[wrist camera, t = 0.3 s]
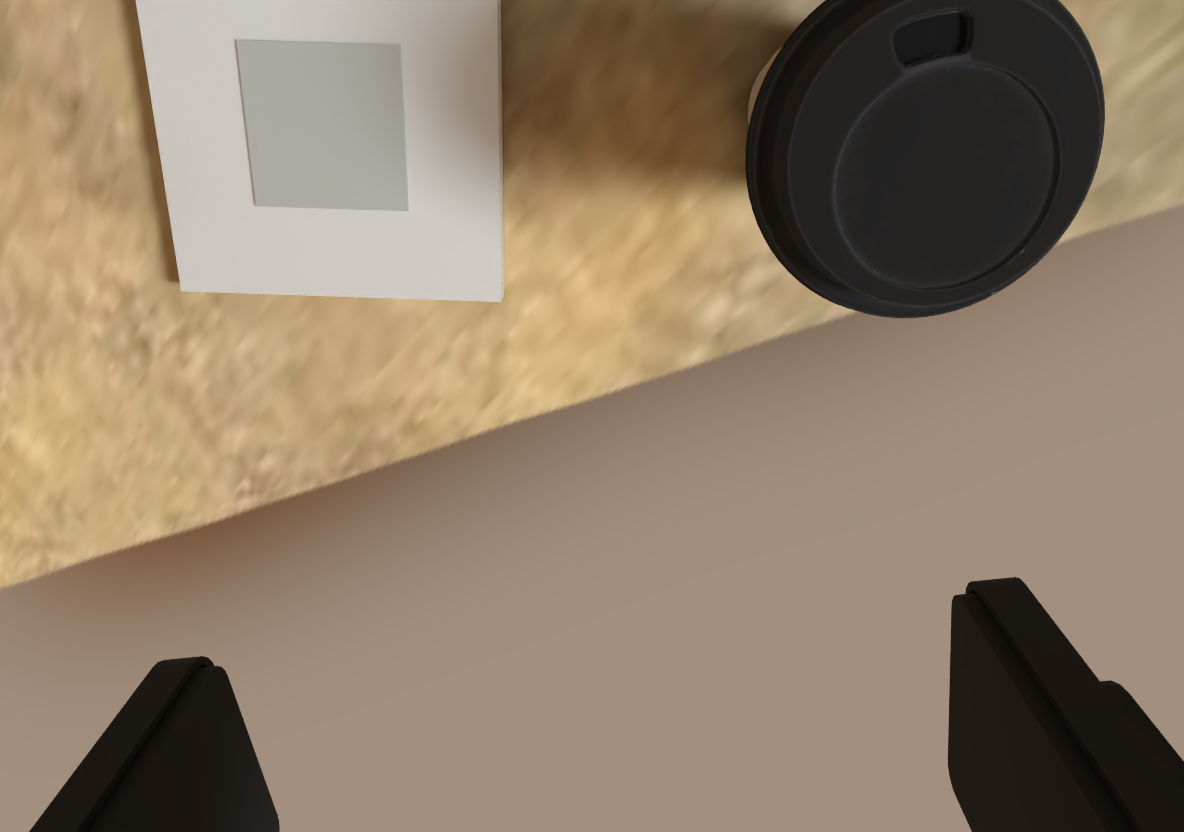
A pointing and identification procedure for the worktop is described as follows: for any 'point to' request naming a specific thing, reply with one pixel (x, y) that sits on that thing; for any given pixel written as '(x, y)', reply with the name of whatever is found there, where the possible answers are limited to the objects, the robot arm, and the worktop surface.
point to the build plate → (331, 145)
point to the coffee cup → (923, 148)
